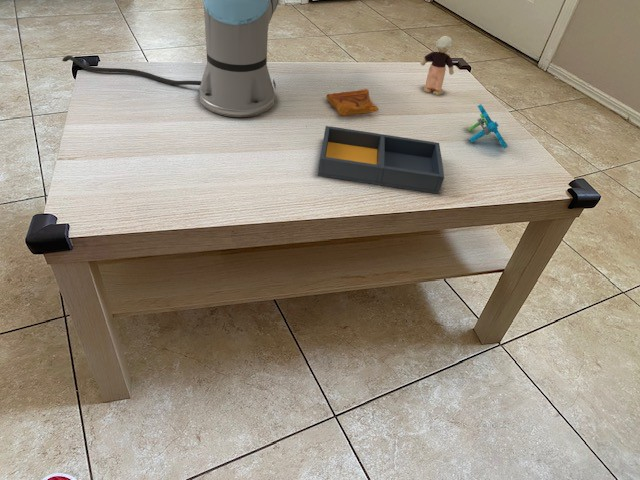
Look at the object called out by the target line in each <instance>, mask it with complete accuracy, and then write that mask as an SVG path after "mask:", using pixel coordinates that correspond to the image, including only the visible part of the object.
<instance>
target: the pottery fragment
mask: <svg viewBox="0 0 640 480" xmlns="http://www.w3.org/2000/svg"><path fill="white" fill-rule="evenodd" d="M326 100H327V101H328V103H329V104H330V105H331V106H332V107H333V108H334V109H335V110H336V111H337V112H338V116H352V115H362V114H368V113H373V112H374V113H375V112H378V111H379V107H378V106H377V105H374V104H373V103H372V100H371V98H370V94H369V89H367V88H364V89H359V90H350V91H342V92H333V93H327V94H326Z"/></svg>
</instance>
